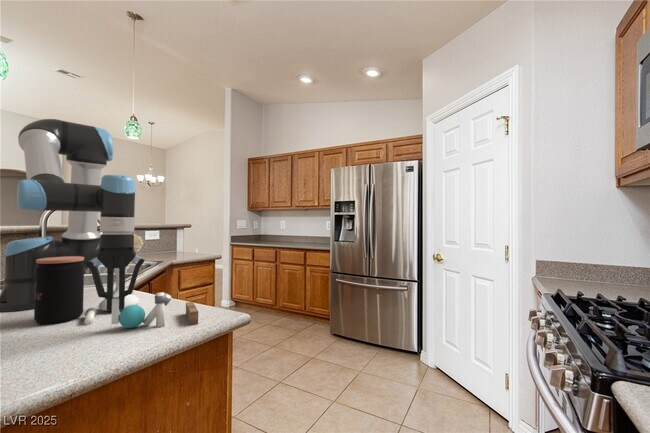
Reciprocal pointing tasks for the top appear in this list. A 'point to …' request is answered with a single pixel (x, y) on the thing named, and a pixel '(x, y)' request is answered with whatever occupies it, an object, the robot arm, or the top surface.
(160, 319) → the right back pin
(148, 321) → the front pin
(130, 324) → the ball
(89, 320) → the left back pin
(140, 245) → the flower in vase
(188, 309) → the back wall
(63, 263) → the coffee jar
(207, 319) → the top surface
